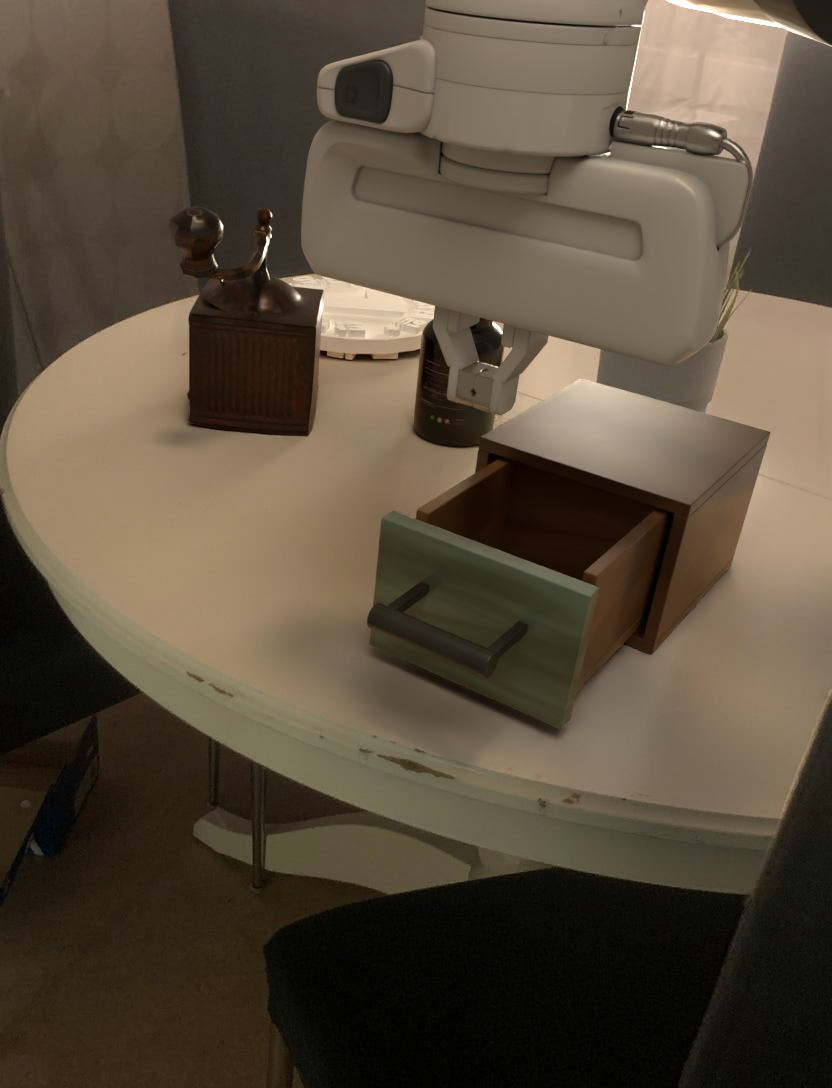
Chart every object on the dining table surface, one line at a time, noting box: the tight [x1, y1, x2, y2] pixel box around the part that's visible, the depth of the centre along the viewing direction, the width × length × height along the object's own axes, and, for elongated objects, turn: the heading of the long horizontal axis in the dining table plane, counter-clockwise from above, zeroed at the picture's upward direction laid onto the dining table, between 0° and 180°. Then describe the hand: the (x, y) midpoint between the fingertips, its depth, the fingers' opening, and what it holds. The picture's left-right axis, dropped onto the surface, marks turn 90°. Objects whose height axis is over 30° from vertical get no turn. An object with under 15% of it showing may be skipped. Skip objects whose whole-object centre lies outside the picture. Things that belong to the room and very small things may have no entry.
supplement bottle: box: [413, 318, 506, 447], centre depth 92 cm, size 7×7×12 cm
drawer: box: [366, 457, 674, 730], centre depth 63 cm, size 18×12×8 cm
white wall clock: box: [288, 275, 435, 361], centre depth 115 cm, size 20×20×3 cm
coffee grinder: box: [168, 205, 324, 436], centre depth 89 cm, size 16×11×18 cm
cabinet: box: [474, 377, 771, 655], centre depth 73 cm, size 15×14×10 cm
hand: (480, 405), depth 55 cm, fingers closed
